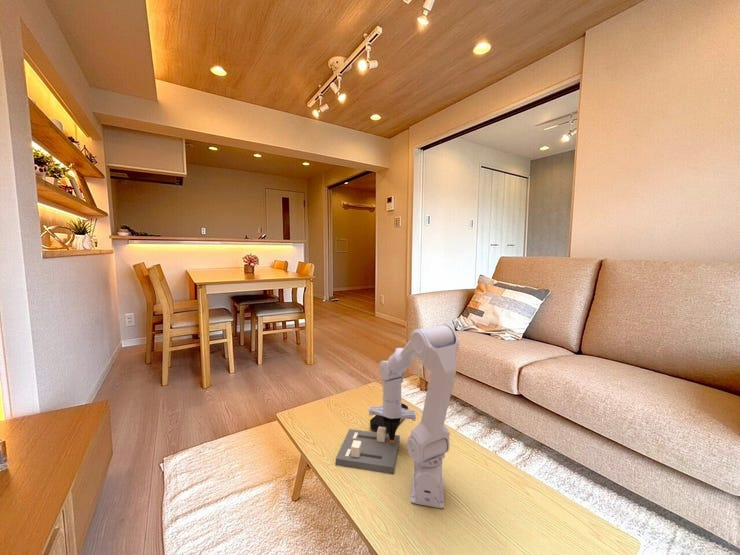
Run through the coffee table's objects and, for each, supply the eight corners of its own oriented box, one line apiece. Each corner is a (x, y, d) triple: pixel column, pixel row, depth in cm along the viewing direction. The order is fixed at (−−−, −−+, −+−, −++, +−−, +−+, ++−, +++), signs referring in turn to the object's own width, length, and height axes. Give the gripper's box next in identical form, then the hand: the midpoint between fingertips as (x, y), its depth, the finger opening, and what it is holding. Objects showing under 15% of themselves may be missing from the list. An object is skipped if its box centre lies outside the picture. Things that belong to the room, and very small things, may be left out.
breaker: (359, 457, 86) (358, 448, 86) (351, 456, 87) (351, 446, 86) (361, 450, 89) (361, 441, 89) (354, 449, 90) (353, 440, 89)
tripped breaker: (384, 442, 93) (384, 433, 92) (376, 441, 93) (376, 432, 93) (386, 436, 95) (385, 427, 95) (378, 435, 96) (378, 426, 96)
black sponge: (389, 438, 98) (389, 428, 98) (367, 430, 103) (367, 420, 102) (410, 414, 112) (410, 405, 111) (390, 407, 116) (390, 399, 116)
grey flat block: (393, 474, 83) (393, 467, 82) (335, 464, 86) (335, 458, 86) (399, 441, 96) (399, 435, 96) (349, 434, 100) (349, 428, 100)
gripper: (416, 393, 94) (416, 432, 96) (372, 388, 97) (372, 427, 99) (414, 405, 87) (414, 447, 89) (367, 399, 90) (367, 441, 92)
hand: (392, 437), depth 93 cm, fingers closed
